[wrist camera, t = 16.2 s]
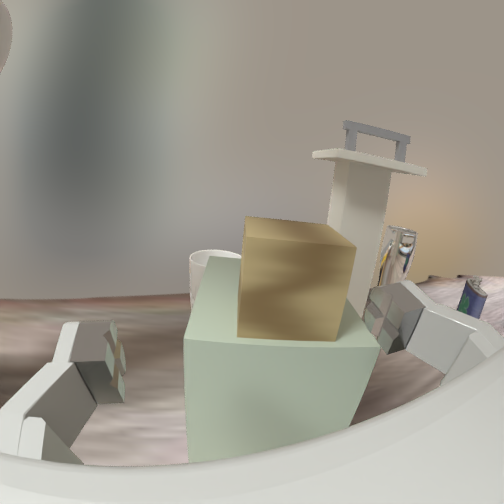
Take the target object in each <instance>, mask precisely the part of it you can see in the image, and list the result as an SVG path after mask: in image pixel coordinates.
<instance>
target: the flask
mask: <svg viewBox="0 0 504 504" xmlns="http://www.w3.org/2000/svg"><path fill="white" fill-rule="evenodd" d="M473 278H474V279H475V280H473V279H467V280H466V284H465V287H464V290H463V293H462V296H461V300H460V302H459V305H458V308H457V311H459V312H462V313H464V314H467V315H469V316H472V317H474V318H477V319H479V318H480V314H481V312H482V309H483V306H484V304H485V301H486V298H487V294H486V293H485V292H484V291H483V290H482V289H481V288H480V287H479V285H480V282H482V278H481V279H479V277H478V276H477V277H475V275H474V276H473Z"/></svg>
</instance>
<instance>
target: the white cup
mask: <svg viewBox="0 0 504 504" xmlns="http://www.w3.org/2000/svg"><path fill="white" fill-rule="evenodd" d="M209 256H217V257H228V258H239V259H241V255H239V254H236V253H233V252H228V251H222V250H203V251H197V252H195V253H193V254H191V255H190V257H189V264H190V265H189V266H190V267H189V268H190V269H189V270H190V302H191V312H192V309H193V306H194V303H195V299H196V296H197V293H198V290H199V287H200V284H201V280H202V277H203V274H204V271H205V268H206V265H207V262H208V259H209Z"/></svg>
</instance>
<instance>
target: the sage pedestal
mask: <svg viewBox="0 0 504 504" xmlns="http://www.w3.org/2000/svg"><path fill="white" fill-rule="evenodd" d="M240 266H241V259H239V258H228V257H217V256H209V259H208V262H207V265H206V268H205V271H204V274H203V277H202V280H201V284H200V287H199V290H198V293H197V296H196V299H195V303H194V306H193V309H192V312H191V315H190V319H189V322H188V325H187V328H186V332H185V335H184V387H185V411H186V429H187V445H188V458H189V463H192V462H201V461H209V460H216V459H223V458H229V457H235V456H241V455H246V454H251V453H256V452H261V451H266V450H270V449H275V448H279V447H283V446H287V445H291V444H294V443H298V442H302V441H305V440H309V439H312V438H316V437H319V436H322V435H325V434H329V433H332V432H335V431H338V430H341V429H343V428H346V427H349V425H350V423H351V421H352V419H353V416H354V414H355V412H356V410H357V407H358V405H359V403H360V400H361V398H362V396H363V393H364V391H365V388H366V386H367V384H368V381H369V378H370V376H371V373H372V371H373V368H374V365H375V363H376V360H377V357H378V354H379V352H380V349H381V346H380V345H379V344H378V342H377V340H376V339H375V337H374V336H373V334H371V333H370V332H369V331H368V329H367V327H366V325H365V323H364V321H363V320H362V319H361V317H360V316H359V314H358V313H357V312H356V310H355V309H354V307H353V306H352V305H351V303H350V302H349V301H348V299H347V298H346V301H345V305H344V310H343V314H342V318H341V322H340V326H339V329H338V333H337V337H336V341H335V342H327V341H292V340H271V339H254V338H240V337H237V306H238V287H239V276H240Z"/></svg>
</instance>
